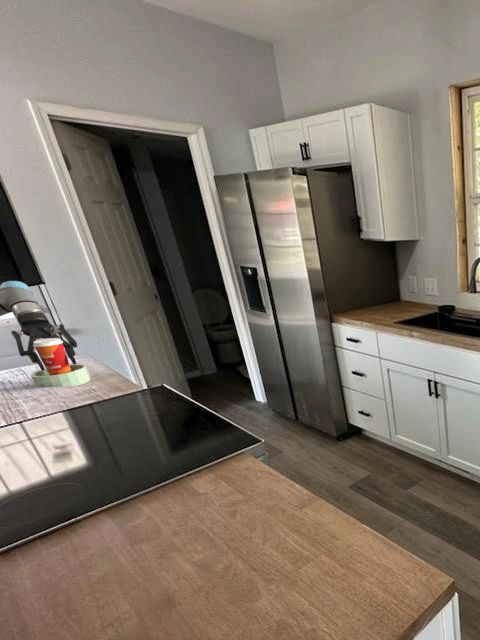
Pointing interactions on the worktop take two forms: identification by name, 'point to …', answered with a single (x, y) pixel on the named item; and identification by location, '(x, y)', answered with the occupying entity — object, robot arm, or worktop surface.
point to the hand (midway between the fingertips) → (58, 365)
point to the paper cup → (53, 355)
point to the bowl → (62, 377)
